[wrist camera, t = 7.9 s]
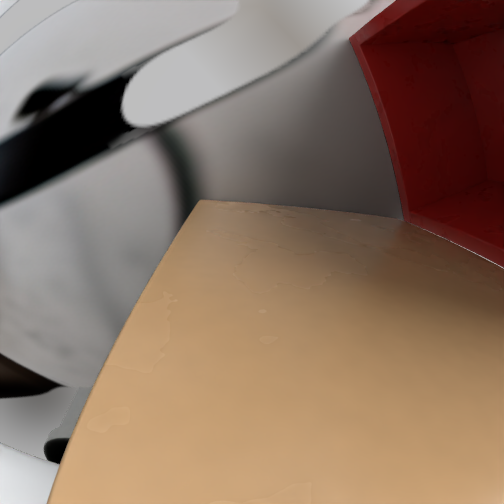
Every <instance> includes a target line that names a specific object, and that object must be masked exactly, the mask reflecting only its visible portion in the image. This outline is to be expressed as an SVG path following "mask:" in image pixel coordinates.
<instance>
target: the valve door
mask: <svg viewBox="0 0 504 504" xmlns="http://www.w3.org/2000/svg"><path fill="white" fill-rule="evenodd" d="M47 504H504V269H503V268H501V267H500V266H498V265H496V264H494V263H492V262H490V261H488V260H486V259H484V258H482V257H480V256H479V255H477V254H475V253H473V252H471V251H469V250H467V249H464V248H462V247H460V246H458V245H456V244H454V243H452V242H450V241H448V240H446V239H443V238H441V237H439V236H437V235H435V234H433V233H430V232H428V231H426V230H424V229H421V228H419V227H417V226H414V225H412V224H410V223H407V222H405V221H403V220H400V219H397V218H390V217H383V216H375V215H367V214H359V213H351V212H343V211H334V210H324V209H315V208H305V207H294V206H283V205H271V204H259V203H246V202H231V201H215V200H199V201H198V203H197V204H196V206H195V207H194V209H193V210H192V212H191V213H190V215H189V217H188V218H187V220H186V221H185V223H184V224H183V226H182V227H181V229H180V230H179V232H178V234H177V235H176V237H175V238H174V240H173V242H172V243H171V245H170V246H169V248H168V250H167V251H166V253H165V255H164V256H163V258H162V259H161V261H160V263H159V264H158V266H157V268H156V269H155V271H154V273H153V274H152V276H151V278H150V280H149V281H148V283H147V285H146V286H145V288H144V290H143V292H142V293H141V295H140V297H139V299H138V300H137V302H136V304H135V306H134V308H133V309H132V311H131V313H130V315H129V317H128V318H127V320H126V322H125V324H124V326H123V328H122V330H121V331H120V333H119V335H118V337H117V339H116V341H115V343H114V345H113V347H112V349H111V351H110V353H109V355H108V357H107V359H106V361H105V363H104V365H103V367H102V369H101V371H100V373H99V375H98V377H97V379H96V381H95V383H94V385H93V387H92V389H91V392H90V394H89V396H88V398H87V400H86V403H85V405H84V407H83V409H82V411H81V414H80V416H79V418H78V421H77V423H76V425H75V428H74V430H73V432H72V435H71V437H70V440H69V442H68V445H67V447H66V450H65V452H64V455H63V458H62V460H61V463H60V465H59V468H58V471H57V474H56V477H55V479H54V482H53V485H52V488H51V491H50V494H49V497H48V500H47Z"/></svg>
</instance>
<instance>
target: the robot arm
mask: <svg viewBox="0 0 504 504" xmlns="http://www.w3.org/2000/svg"><path fill="white" fill-rule="evenodd" d="M58 468H59V464H56V463H53V462H50V461H47V460H44V459H41V458H38V457H35V456H32V455H29V454H27V453H24V452H22V451H19V450H17V449H14V448H11V447H9V446H7V445H5V444H3V443H0V504H47V500H48V497H49V494H50V491H51V488H52V485H53V482H54V479H55V477H56V474H57V471H58Z"/></svg>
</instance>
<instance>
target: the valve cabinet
mask: <svg viewBox="0 0 504 504" xmlns="http://www.w3.org/2000/svg"><path fill="white" fill-rule="evenodd" d="M349 40H350V43H351V45H352V47H353V49H354V51H355V54H356V56H357V58H358V61H359V63H360V66H361V68H362V71H363V73H364V76H365V78H366V81H367V83H368V86H369V89H370V91H371V94H372V97H373V100H374V103H375V106H376V109H377V112H378V115H379V118H380V121H381V124H382V128H383V131H384V134H385V138H386V141H387V145H388V148H389V152H390V156H391V160H392V164H393V168H394V172H395V176H396V181H397V185H398V190H399V195H400V200H401V205H402V210H403V216H404V221H406V222H409V223H412V224H414V225H416V226H418V227H421V228H423V229H425V230H428V231H430V232H432V233H434V234H436V235H439V236H441V237H443V238H445V239H447V240H450V241H452V242H454V243H456V244H458V245H460V246H462V247H464V248H466V249H468V250H470V251H472V252H475V253H476V254H478V255H481V256H482V257H485V258H487V259H489V260H490V261H492V262H494V263H496V264H498V265H500V266H502V267H503V268H504V0H396V1H395V2H393V3H392V4H391V5H390V6H388V7H387V8H386V9H384V10H383V11H382V12H381V13H379V14H378V15H377V16H375V17H374V18H373V19H372V20H371V21H369V22H368V23H367V24H366V25H364V26H363V27H362V28H361V29H360V30H358V31H357V32H356V33H355V34H354V35H352V36H351V37H350V38H349Z"/></svg>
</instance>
